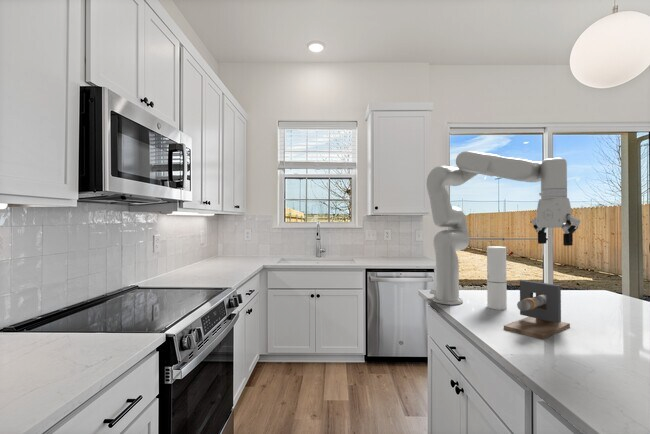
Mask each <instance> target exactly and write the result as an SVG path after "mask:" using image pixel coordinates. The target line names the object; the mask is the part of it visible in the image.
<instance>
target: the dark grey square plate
mask: <svg viewBox="0 0 650 434" xmlns="http://www.w3.org/2000/svg"><path fill="white" fill-rule="evenodd" d="M561 287H562V285H561V284H555V283H548V282H547V283H546V282H540V281H532V280H526V279H525V280H524V279H521V280H519V301H522V300H523V299H525V298H532V297H534V294H536V293H538V294H544V295H546V308H541V307H535V308H534V309H532V310H526V311H521V310H519V315H520V316H524V317H533V318H538V319H542V320H547V321H551V322H556V323H560V322H562V293H561V292H562V291H561V289H562V288H561Z"/></svg>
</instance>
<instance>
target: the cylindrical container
mask: <svg viewBox="0 0 650 434" xmlns="http://www.w3.org/2000/svg"><path fill="white" fill-rule="evenodd" d="M486 260H487V261H486V263H487V264H486V270H487V271H486V279H487V280H486V282H487V283H486V285H487V288H486V293H487V295H486V298H487V299H486V302H487V304H486V307H487V308H489V309H491V310H492V309H493V310H498V311H499V310H501V311H504V310H507V307H508V306H507V305H508V304H507V300H508V299H507V246H500V245H498V246H497V245H495V246H494V245H492V246H491V245H490V246H486Z"/></svg>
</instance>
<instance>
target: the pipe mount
mask: <svg viewBox="0 0 650 434" xmlns="http://www.w3.org/2000/svg"><path fill="white" fill-rule="evenodd" d="M516 305H517V306H516V307H517V309H518V310H519V311H520V310H521V311H526V310H532V309H534V308H535V307H541V308H546V295H544V294H538V293H535V296H533V297H532V298H525V299H523V300H522V301H520V300H519V301H517V304H516ZM566 328H567V329H570V328H571V324H570V323H569V322H565V321H561V322H560V323H556V322H551V321H547V320H542V319H538V318H533V317H528V316H525V317H524V318H521V319H518V320H515V321H512V322H510V323H507V324H504V325H503V330H506V331H510V332H513V333H517V334H520V335H525V336H527V337H528V336H529V337H531V338H535V339H540V340H545V339H547V338H549V337H551V336H553V335H555V334H556V335H557V334H558V333H560V332H562V331H565V330H566ZM564 329H565V330H564Z"/></svg>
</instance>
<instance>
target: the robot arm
mask: <svg viewBox="0 0 650 434" xmlns="http://www.w3.org/2000/svg"><path fill="white" fill-rule="evenodd" d="M455 165H456V166H450V165H449V166H448V165H438V166H435V167H434V168H433V169H431V170H430V172H429V173H428V175H427V178H426V190H427V193H428V197H429V202H430V209H431V214H432V221H433V224H434V225H435V226H436V227H439V228H447V229H444V230H440V231H438V232H437V233H436V234H435V235H434V237H433V247H434V253H435V287H436V288H431V289H430V291H429V294H431V295H434V296H433V297H432V301H433V302H434V303H437V304H439V305H440V304H442V305H451V306H452V305H453V306H455V305H456V306H457V305H461V304H463V303H464V300H463V299H462V298H461V297H460V282H459V281H460V278H459V277H460V271H459V269H460V265H459V263H460V262H459V257H458V254H457V252H458V251H463V250H465V249H467V247H469V245H470V234H469V229H468V223H467V218H466V214H465V213H464V210H462V209H461V208H460V207H458V206H452V204H451V197H450V195H449V192H448V191H447V188H446V186H451V187H457V186H461V185H464V184H466V183H467V182H468V181H469V180H472V179H473V178H474V177H477V176H478V175H482V176H483V175H484V176H487V177H497V178H500V179H506V180H511V181H516V182H524V183H525V182H526V183H538V182H540V192H539V193H538V195H539V196H540V199H538V202H537V208H536V217H535V218H533V219H531V224H532V225H533V228H534V230H535V232H536V233H537V244H538V245H543V244H547V232H546V230H547V229H550V228H553V229H554V228H555V229H557V228H559V229H560V228H561V230H562V231H564V233H563V234H562V237H563V244H562V245H563V246H565V247H569V246H573V245H574V244H573V243H574V242H573V241H574V240H573V239H574V238H573V235H574V234H575V232H576V231H577V229H578V228H579V227H578V226H580V224H581V219H579V218H576V217H575V216H573V215H572V207H571V201H570V198H569V197H568V167H567V166H568V163H567V160H566V159H565V158H562V157H554V158H551V157H550V158H545V159H542V161H534V160H533V161H532V160H530V159H529V160H528V159H521V158H515V157H506V156H501V155H499V154H494V153H487V152H479V151H473V150H464V151H461V152H460V153H458V154H457V156H456V158H455Z"/></svg>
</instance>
